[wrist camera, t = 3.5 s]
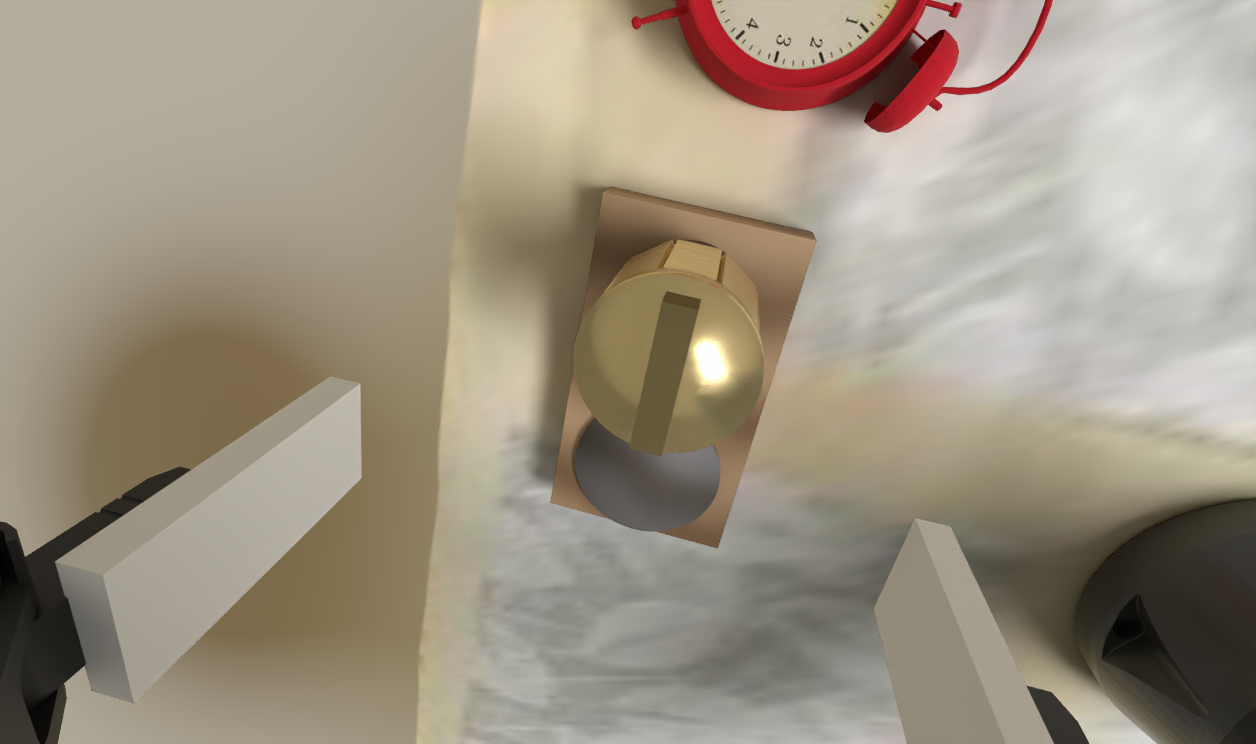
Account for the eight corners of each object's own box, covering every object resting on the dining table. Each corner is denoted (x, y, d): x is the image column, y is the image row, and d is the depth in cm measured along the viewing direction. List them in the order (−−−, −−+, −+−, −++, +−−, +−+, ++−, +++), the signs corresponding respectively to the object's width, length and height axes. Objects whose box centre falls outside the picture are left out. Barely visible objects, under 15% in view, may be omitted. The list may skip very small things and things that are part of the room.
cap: (621, 223, 26) (579, 262, 20) (781, 260, 26) (792, 313, 19) (594, 368, 29) (550, 444, 23) (738, 405, 29) (734, 493, 22)
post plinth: (611, 186, 31) (558, 219, 22) (812, 232, 30) (837, 284, 21) (559, 483, 38) (505, 593, 30) (719, 526, 38) (710, 652, 29)
